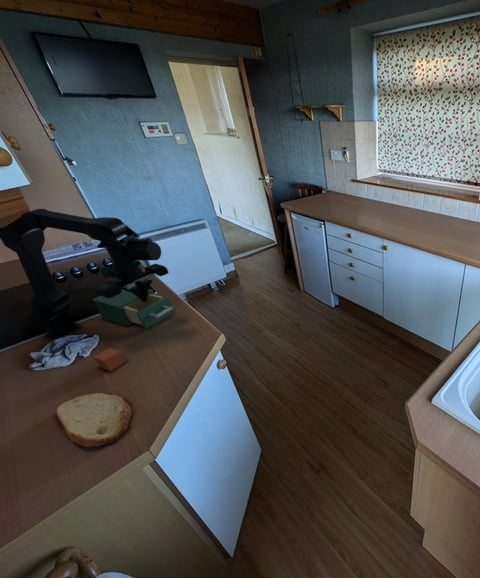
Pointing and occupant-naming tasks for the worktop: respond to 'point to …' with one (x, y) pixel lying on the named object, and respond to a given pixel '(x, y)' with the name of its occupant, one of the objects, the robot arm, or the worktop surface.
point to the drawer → (148, 310)
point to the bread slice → (94, 418)
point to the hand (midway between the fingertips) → (144, 301)
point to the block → (110, 359)
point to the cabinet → (116, 306)
